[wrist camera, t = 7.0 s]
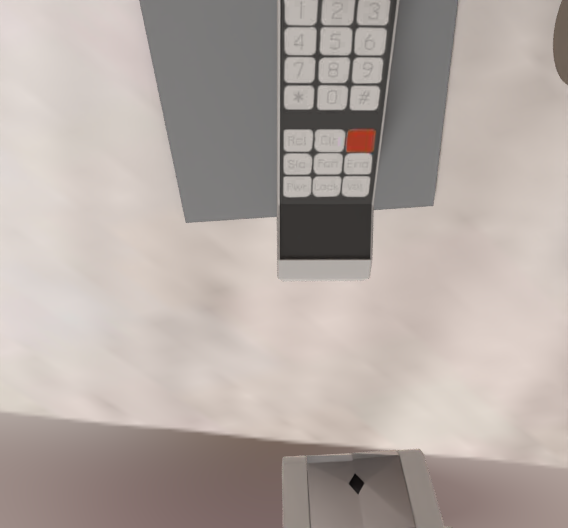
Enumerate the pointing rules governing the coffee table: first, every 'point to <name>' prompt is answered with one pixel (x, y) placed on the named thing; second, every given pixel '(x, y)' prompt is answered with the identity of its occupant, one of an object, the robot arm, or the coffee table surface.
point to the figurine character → (561, 41)
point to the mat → (263, 103)
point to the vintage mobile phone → (330, 133)
